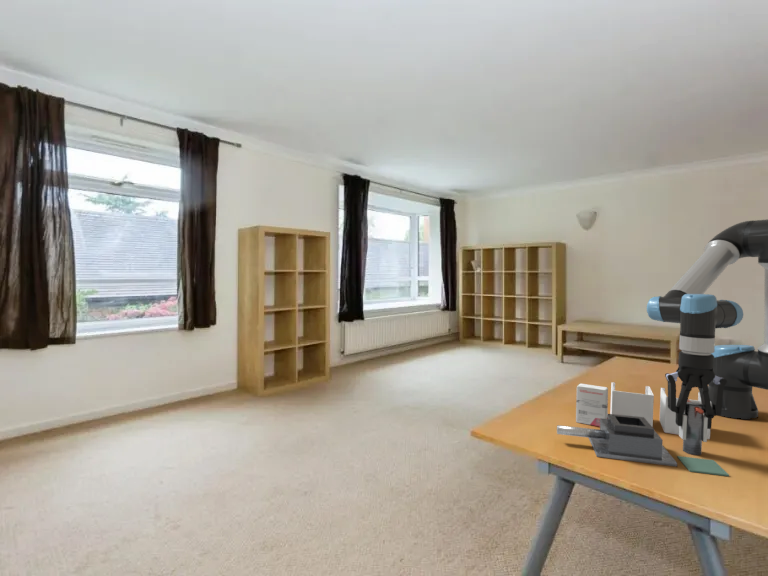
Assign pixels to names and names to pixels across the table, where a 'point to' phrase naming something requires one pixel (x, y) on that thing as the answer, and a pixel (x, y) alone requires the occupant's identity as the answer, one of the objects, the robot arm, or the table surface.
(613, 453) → the block
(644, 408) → the brackets
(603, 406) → the ink box
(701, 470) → the rubber mat
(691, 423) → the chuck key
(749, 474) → the table surface
